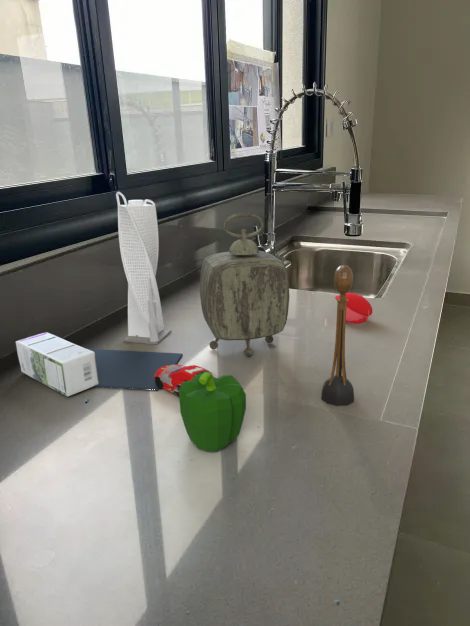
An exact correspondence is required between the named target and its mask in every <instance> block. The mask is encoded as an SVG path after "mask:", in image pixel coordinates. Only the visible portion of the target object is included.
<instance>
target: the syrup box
mask: <svg viewBox="0 0 470 626" xmlns="http://www.w3.org/2000/svg"><path fill="white" fill-rule="evenodd" d="M15 347H16V353H17V358H18V362H19V365H20V371H21V373H23V374H25V375H26V376H28V377H30V378H32V379H34V380H36V381H37V382H39V383H41V384H42V385H45V386H46V387H48V388H50V389H52V390H54V391H55V392H57V393H59V394H61V395H63V396H65V397H70V396H74V395H76V394H78V393H81V392H83V391H85V390H88V389H90V388H94V387H93V386H95V385H98V384H99V382H98V375H97V367H96V361H95V353H94V352H93V351H91V350H88V349H89V348H85V347H83V346H80V345H78V344H76V343H73V342H71V341H68V340H66V339H64V338H61V337H59V336H57V335H55V334H52V333H49V332H47V331H46V332H42V333H39V334H35V335H32V336H28V337H26V338H25V337H24V338H22V339H19V340H16V341H15Z"/></svg>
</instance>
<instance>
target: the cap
mask: <svg viewBox="0 0 470 626" xmlns="http://www.w3.org/2000/svg"><path fill="white" fill-rule="evenodd" d="M339 298H340V294H339V295H336V296H335V297H334V299H335V300H336V301H337V299H339ZM346 299H348V302H347V306H346V323H349V324H363V323H366V322H367V321H368V320H369V318H370V316H372V314H373V307H372V305H371V303H370V302H369V300H367V299H366V297H364V296H363V294H362V295H361V294H358V293H356V292H355V293H354V292H347V293H346Z"/></svg>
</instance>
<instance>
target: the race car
mask: <svg viewBox="0 0 470 626" xmlns="http://www.w3.org/2000/svg"><path fill="white" fill-rule="evenodd" d="M205 372H209V373H211V374H212V375H213V377H215V378H219V377H220V376H219V377H218V376H217V375H216V374H215V373H213V372H211V371H210V370H208V369H206V368H204V367H202V366H199V365H196V364H191V365H183V364H176V365H167V366H163V367H161V368H159V369H158V370H157V372H156V373H155V376H154V381H155V383H156V386H157V387H158V388H159V389H160V390H162V389H164V390H166V391H168V392H169V393H172V394H174V395H176V396H178V397H179V389H180V386H181V384H182V382H187V381H190V380H191V379H192V378H194V377H195V376H196V375H198V374H199V373H202V374H203V373H205Z"/></svg>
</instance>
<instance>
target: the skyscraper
mask: <svg viewBox="0 0 470 626" xmlns="http://www.w3.org/2000/svg"><path fill="white" fill-rule="evenodd" d="M119 195H120V196H121V197H122V200H123V202H124V204H121V201H120V196H119ZM115 198H116V202H117V203H116V204H117V228H118V229H117V230H118V231H117V233H118V243H119V252H120V257H121V262H122V267H123V270H124V274H125V278H126V280H127V336H126V337H125V338H124V339H123V342H127V343H137V344H149V345H158V344H160V343H161V342H162V341H163V340H164V339H165V338H167V337H168V336H169V335H170V334H171V333H172V329H165V325H164V317H163V312H162V304H161V299H160V292H159V287H158V283H157V279H156V275H157V270H158V262H159V250H160V247H159V246H160V244H159V243H160V242H159V241H160V240H159V239H160V238H159V225H158V215H157V208H156V203H155V202H154V201H153V200H152V199H148V198H146V199H129V200H127V199H126V197H125V195H124V194H123V193H122V192H121V191H116V193H115Z"/></svg>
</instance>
